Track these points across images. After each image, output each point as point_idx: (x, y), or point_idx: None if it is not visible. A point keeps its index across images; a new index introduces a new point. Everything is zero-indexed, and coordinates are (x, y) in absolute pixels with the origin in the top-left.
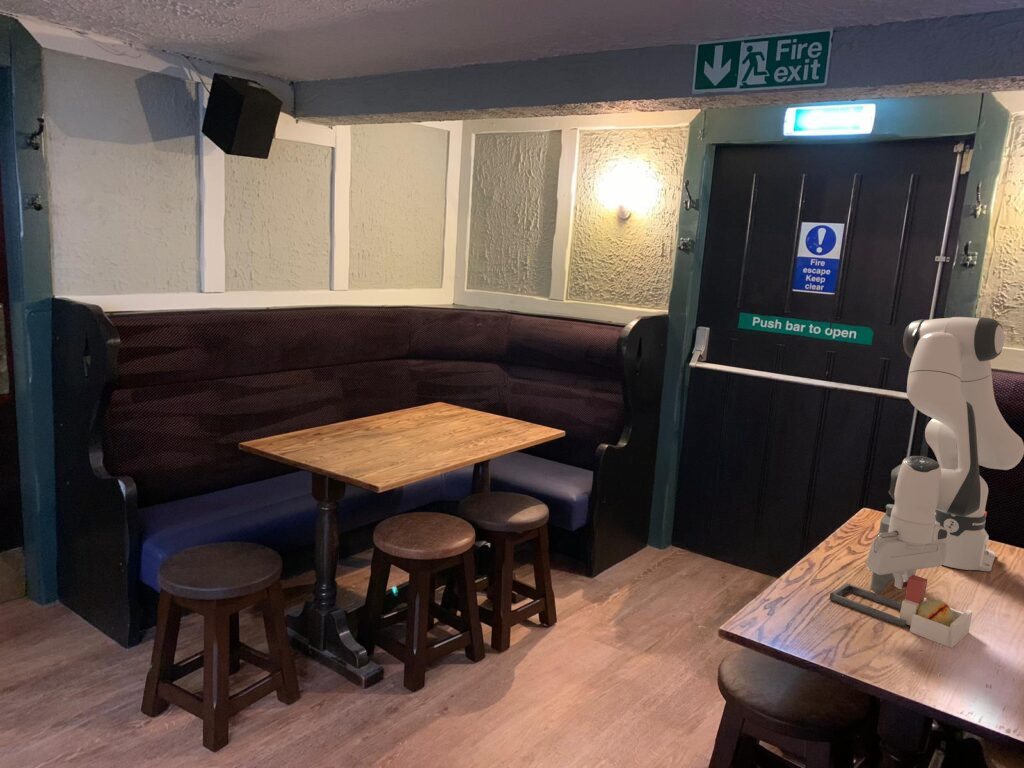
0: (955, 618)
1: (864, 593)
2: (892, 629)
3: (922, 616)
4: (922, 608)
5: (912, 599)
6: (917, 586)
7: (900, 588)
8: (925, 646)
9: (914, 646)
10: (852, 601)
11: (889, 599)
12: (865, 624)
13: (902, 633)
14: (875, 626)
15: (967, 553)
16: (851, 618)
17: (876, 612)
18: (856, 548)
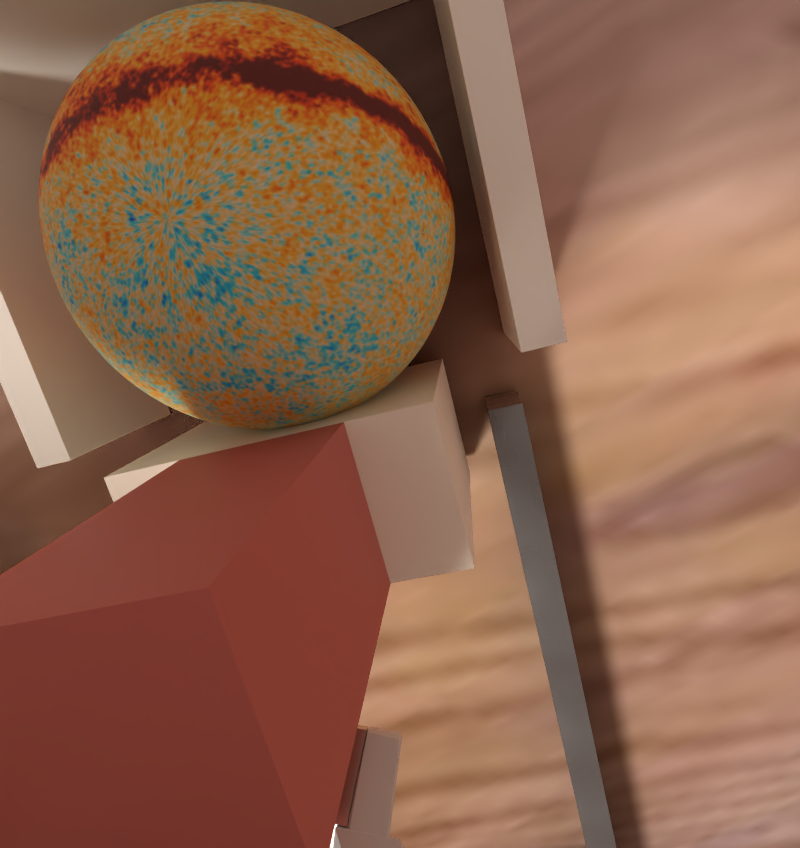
0: (19, 183)
1: None
2: (638, 417)
3: (447, 284)
4: (404, 328)
5: (360, 515)
6: (292, 599)
7: (399, 733)
8: (677, 67)
9: (782, 113)
10: (599, 812)
11: None
12: (770, 568)
13: (627, 333)
14: (725, 512)
15: None
16: (773, 673)
17: (568, 627)
18: None
